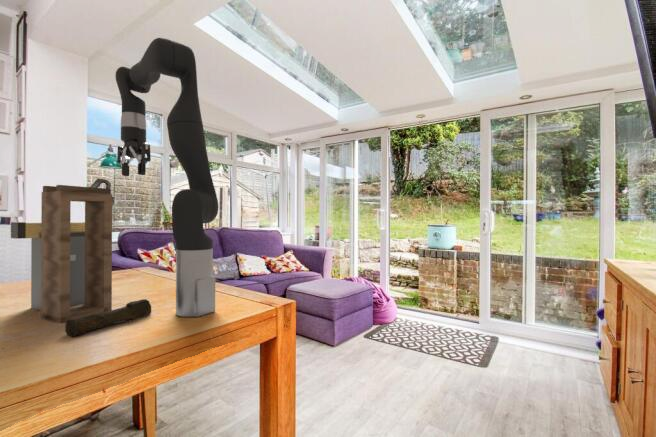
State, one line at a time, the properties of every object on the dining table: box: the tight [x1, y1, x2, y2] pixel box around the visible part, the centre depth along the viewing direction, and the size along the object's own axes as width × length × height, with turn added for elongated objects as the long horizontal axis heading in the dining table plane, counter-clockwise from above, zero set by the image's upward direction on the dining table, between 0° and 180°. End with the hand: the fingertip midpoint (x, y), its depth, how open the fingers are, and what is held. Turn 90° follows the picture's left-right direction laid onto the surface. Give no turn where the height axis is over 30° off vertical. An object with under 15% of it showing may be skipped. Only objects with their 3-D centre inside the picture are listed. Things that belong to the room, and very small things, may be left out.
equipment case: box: [30, 232, 85, 311], centre depth 95 cm, size 9×11×21 cm
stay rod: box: [10, 221, 85, 240], centre depth 95 cm, size 4×22×4 cm, turn 152°
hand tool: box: [64, 298, 152, 338], centre depth 78 cm, size 19×4×5 cm, turn 151°
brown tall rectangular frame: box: [40, 184, 113, 324], centre depth 86 cm, size 9×12×34 cm
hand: (133, 175), depth 112 cm, fingers open, 8 cm apart
